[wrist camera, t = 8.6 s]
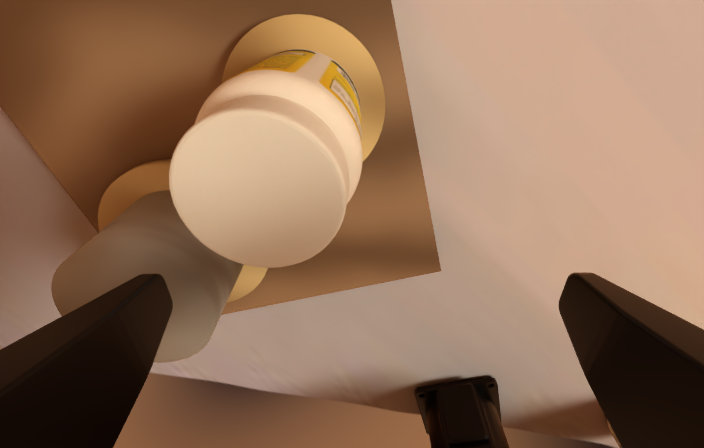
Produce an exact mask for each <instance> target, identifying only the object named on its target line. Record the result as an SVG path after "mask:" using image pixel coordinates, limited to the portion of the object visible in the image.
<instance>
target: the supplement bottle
mask: <svg viewBox="0 0 704 448" xmlns="http://www.w3.org/2000/svg"><path fill="white" fill-rule="evenodd" d="M362 162H363V150H362V129H361V110H360V100H359V96H358V93H357V90H356V87H355V85H354V83H353V81H352V79H351V78H350V76H349V75H348V73H347V72H346V71H345V70H344V69H343V68H342V67H341V66H340V65H339V64H338V63H337V62H336V61H334V60H333V59H332V58H330V57H328V56H326V55H324V54H322V53H319V52H316V51H312V50H306V49H290V50H286V51H282V52H280V53H277V54H275V55H273V56H271V57H269V58H267V59H266V60H264V61H262V62H260V63H258V64H257V65H255V66H253V67H251V68H249V69H247V70H245V71H243V72H241V73H240V74H238V75H236V76H234V77H232V78H230V79H228V80H227V81H225V82H224V83H222V84H221V85H220V86H219V87H218V88H216V89H215V90H214V91H213V92H212V94H211V95H210V96H209V97H208V98H207V100H206V101H205V102H204V104H203V106H202V107H201V109H200V111H199V113H198V116H197V118H196V121H195V124H194V125H193V126H192V127H191V128H190V129H189V130H188V131H187V132H186V133H185V134H184V135H183V137H182V138H181V140H180V141H179V143H178V144H177V146H176V148H175V150H174V153H173V156H172V159H171V163H170V169H169V187H170V193H171V197H172V200H173V204H174V206H175V208H176V210H177V212H178V214H179V216H180V218H181V219H182V221H183V222H184V224H185V225H186V227H187V228H188V229H189V230H190V232H191V233H192V234H193V235H194V236H195V237H196V238H197V239H198V240H199V241H200V242H201V243H203V244H204V245H205V246H207V247H208V248H209V249H211V250H212V251H214V252H216V253H217V254H219V255H221V256H223V257H225V258H227V259H229V260H232V261H234V262H237V263H241V264H244V265H248V266H254V267H261V268H276V267H285V266H289V265H294V264H297V263H300V262H303V261H305V260H308V259H310V258H312V257H313V256H315V255H316V254H318V253H319V252H321V251H322V250H323V249H324V248H325V247H326V246H327V245H328V244H329V243H330V242H331V241H332V239H333V238H334V237H335V235H336V234H337V232H338V230H339V229H340V226H341V224H342V222H343V219H344V216H345V211H346V205H347V203H348V202H349V201H350V199H351V198H352V196H353V194H354V192H355V190H356V188H357V185H358V182H359V179H360V175H361V171H362Z"/></svg>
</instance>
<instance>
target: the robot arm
mask: <svg viewBox="0 0 704 448" xmlns="http://www.w3.org/2000/svg"><path fill="white" fill-rule="evenodd" d="M172 309H173V301H172V298H171V295H170V293H169V290H168V287H167V285H166V282H165V279H164V277H163V276H162V275H160V274H140V275H138V276H136V277H134V278H132V279H130V280H129V281H127V282H125V283H123V284H121V285H119V286H117V287H116V288H114V289H112V290H110V291H108V292H106V293H105V294H103V295H101V296H99V297H97V298H95V299H93V300H92V301H90V302H88V303H86V304H84V305H82V306H80V307H79V308H77V309H75V310H73V311H71V312H69V313H68V314H66V315H64V316H62V317H60V318H58V319H56V320H55V321H53V322H51V323H49V324H47V325H45V326H43V327H42V328H40V329H38V330H36V331H34V332H32V333H31V334H29V335H27V336H25V337H23V338H21V339H19V340H18V341H16V342H14V343H12V344H10V345H8V346H6V347H5V348H3V349H1V350H0V448H113V446H114V444H115V442H116V440H117V438H118V436H119V434H120V432H121V430H122V428H123V426H124V424H125V422H126V420H127V418H128V416H129V414H130V412H131V409H132V408H133V406H134V404H135V401H136V399H137V397H138V395H139V393H140V391H141V389H142V387H143V385H144V383H145V381H146V379H147V376H148V374H149V372H150V369H151V367H152V365H153V362H154V359H155V357H156V354H157V351H158V348H159V346H160V343H161V340H162V338H163V335H164V332H165V329H166V327H167V324H168V321H169V319H170V316H171V313H172ZM559 311H560V314H561V317H562V319H563V322H564V324H565V327H566V329H567V332H568V334H569V337H570V339H571V342H572V344H573V347H574V350H575V352H576V355H577V357H578V360H579V362H580V365H581V367H582V369H583V372H584V374H585V376H586V379H587V381H588V383H589V385H590V387H591V389H592V391H593V393H594V395H595V396H596V398H597V400H598V402H599V404H600V406H601V408H602V410H603V412H604V414H605V416H606V418H607V420H608V422H609V423H610V425H611V427H612V429H613V431H614V433H615V435H616V437H617V439H618V441H619V443H620V445H621V447H622V448H704V330H703V329H701V328H699V327H697V326H695V325H693V324H691V323H690V322H688V321H686V320H684V319H682V318H680V317H678V316H676V315H674V314H672V313H670V312H668V311H666V310H664V309H662V308H660V307H658V306H656V305H654V304H652V303H650V302H649V301H647V300H645V299H643V298H641V297H639V296H637V295H635V294H633V293H631V292H629V291H627V290H625V289H623V288H621V287H619V286H617V285H615V284H613V283H611V282H610V281H608V280H606V279H604V278H602V277H600V276H598V275H596V274H594V273H572V274H570V275H569V276H568V278H567V281H566V284H565V286H564V289H563V292H562V294H561V297H560V300H559ZM415 397H416V400H417V403H418V406H419V410H420V413H421V416H422V419H423V423H424V426H425V429H426V433H427V434H429V436H430V442H431V448H509V445H508V442H507V439H506V437H505V434H504V431H503V428H502V425H501V414H500V404H499V394H498V385H497V382H496V380H495V378H492V377H488V378H481V379H475V380H468V381H461V382H455V383H448V384H441V385H434V386H428V387H421V388H417V389H416V390H415Z"/></svg>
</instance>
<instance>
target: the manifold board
mask: <svg viewBox="0 0 704 448" xmlns="http://www.w3.org/2000/svg"><path fill="white" fill-rule="evenodd" d="M290 49H306V50H312V51H316V52H319V53H322V54H324V55H326V56H328V57H330V58H332V59H333V60H334V61H336V62H337V63H338V64H339V65H340V66H341V67H342V68H343V69H344V70H345V71H346V72H347V73H348V75H349V76H350V78H351V79H352V81H353V83H354V85H355V87H356V90H357V93H358V96H359V100H360V110H361V129H362V150H363V162H362V171H361V175H360V179H359V182H358V185H357V188H356V190H355V192H354V194H353V196H352V198H351V199H350V201H349V202H348V203H347V205H346V211H345V216H344V219H343V222H342V224H341V226H340V229H339V230H338V232H337V234H336V235H335V237H334V238H333V239H332V241H331V242H330V243H329V244H328V245H327V246H326V247H325V248H324V249H323V250H322V251H321V252H319V253H318V254H316V255H315V256H313V257H312V258H310V259H308V260H305V261H303V262H300V263H297V264H294V265H289V266H285V267H276V268H261V267H254V266H248V265H244V264H241V263H237V262H234V261H232V260H229V259H227V258H225V257H223V256H221V255H219V254H217V253H216V252H214V251H212V250H211V249H209V248H208V247H207V246H205V245H204V244H203V243H201V242H200V241H199V240H198V239H197V238H196V237H195V236H194V235H193V234H192V233H191V232H190V230H189V229H188V228H187V227H186V225H185V224H184V222H183V221H182V219H181V218H180V216H179V214H178V212H177V210H176V208H175V206H174V204H173V200H172V197H171V193H170V187H169V169H170V163H171V159H172V156H173V153H174V150H175V148H176V146H177V144H178V143H179V141H180V140H181V138H182V137H183V135H184V134H185V133H186V132H187V131H188V130H189V129H190V128H191V127H192V126H193V125H194V124H195V121H196V118H197V116H198V113H199V111H200V109H201V107H202V106H203V104H204V102H205V101H206V100H207V98H208V97H209V96H210V95H211V94H212V92H213V91H214V90H215V89H216V88H218V87H219V86H220V85H221V84H222V83H224V82H225V81H227V80H228V79H230V78H232V77H234V76H236V75H238V74H240V73H241V72H243V71H245V70H247V69H249V68H251V67H253V66H255V65H257V64H258V63H260V62H262V61H264V60H266V59H267V58H269V57H271V56H273V55H275V54H277V53H280V52H282V51H286V50H290ZM0 106H1V107H2V108H3V110H4V111H5V112H6V114H7V115H8V116H9V118H10V119H11V120H12V121H13V123H14V124H15V125H16V127H17V128H18V129H19V130H20V132H21V133H22V134H23V136H24V137H25V138H26V140H27V141H28V142H29V143H30V145H31V146H32V147H33V149H34V150H35V151H36V152H37V154H38V155H39V156H40V158H41V159H42V160H43V161H44V163H45V164H46V165H47V167H48V168H49V169H50V171H51V172H52V173H53V174H54V176H55V177H56V178H57V180H58V181H59V182H60V183H61V185H62V186H63V187H64V189H65V190H66V191H67V193H68V194H69V195H70V196H71V198H72V199H73V200H74V202H75V203H76V204H77V205H78V207H79V208H80V209H81V211H82V212H83V213H84V214H85V216H86V217H87V218H88V220H89V221H90V222H91V224H92V225H93V226H94V227H95V229H96V230H97V231H98V234H96V235H95V236H94V237H93V238H92V239H90V240H89V241H88V242H87V243H86V244H85V245H83V246H82V247H81V248H80V249H79V250H77V251H76V252H75V253H74V254H73V255H71V256H70V257H69V258H68V259H67V260H66V261H64V262H63V263H62V264H61V265H60V266H59V267H58V269H57V270H56V272H55V274H54V276H53V280H52V296H53V299H54V302H55V305H56V307H57V309H58V311H59V312H60V314H61V315H62V316H64V315H66V314H68V313H69V312H71V311H73V310H75V309H77V308H79V307H80V306H82V305H84V304H86V303H88V302H90V301H92V300H93V299H95V298H97V297H99V296H101V295H103V294H105V293H106V292H108V291H110V290H112V289H114V288H116V287H117V286H119V285H121V284H123V283H125V282H127V281H129V280H130V279H132V278H134V277H136V276H138V275H140V274H160V275H162V276H163V277H164V279H165V282H166V285H167V287H168V290H169V293H170V295H171V298H172V301H173V309H172V313H171V316H170V319H169V321H168V324H167V327H166V329H165V332H164V335H163V338H162V340H161V343H160V346H159V348H158V351H157V354H156V357H155V359H154V362H171V361H177V360H182V359H185V358H188V357H190V356H192V355H194V354H196V353H197V352H199V351H200V350H201V349H203V347H204V346H205V345H206V344H207V343H208V341H209V340H210V338H211V335H212V333H213V331H214V329H215V327H216V325H217V322H218V320H219V318H220V316H221V315H223V314H228V313H233V312H238V311H243V310H248V309H253V308H258V307H263V306H268V305H273V304H278V303H283V302H288V301H293V300H298V299H303V298H308V297H313V296H318V295H323V294H328V293H333V292H338V291H343V290H348V289H353V288H358V287H363V286H368V285H373V284H378V283H384V282H389V281H394V280H399V279H404V278H409V277H414V276H419V275H424V274H429V273H434V272H439V271H441V268H440V263H439V257H438V252H437V247H436V241H435V236H434V230H433V225H432V220H431V214H430V209H429V203H428V198H427V193H426V187H425V182H424V176H423V171H422V166H421V160H420V155H419V150H418V144H417V139H416V133H415V128H414V123H413V117H412V112H411V106H410V101H409V96H408V90H407V85H406V79H405V74H404V69H403V63H402V58H401V52H400V47H399V42H398V36H397V31H396V25H395V20H394V15H393V9H392V4H391V0H0Z"/></svg>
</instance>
